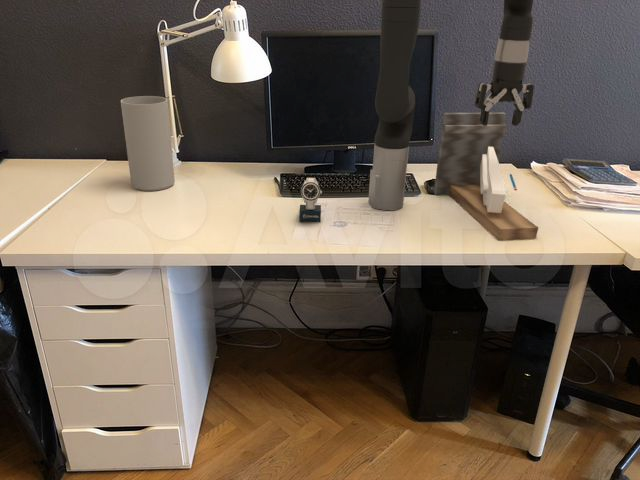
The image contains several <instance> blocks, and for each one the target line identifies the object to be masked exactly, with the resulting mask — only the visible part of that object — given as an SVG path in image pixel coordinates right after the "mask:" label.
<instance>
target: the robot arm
mask: <svg viewBox="0 0 640 480" xmlns="http://www.w3.org/2000/svg"><path fill="white" fill-rule="evenodd" d="M421 2H422V0H382V1H381V16H380V17H381V18H380V42H379V43H380V45H379V47H380V49H379V50H380V51H379V52H380V64H379V75H378V80H377V81H378V82H377V85H376V87H377V88H376V94H375V98H374V99H375V100H374V105H375V106H374V107H375V110H376V113H377V115H378V117H379V118H378V126H377V130H376V132H375V136H374V148H373V159H372V168H370V173H369V185H368V187H369V188H368V200H367V201H368V203H369V204H370V206H371V208H373V209H375V210H377V209H378V210H381V211H384V210H385V211H396V210H400V209H401V208H404V207H403V206H404V201H405V187H406V180H407V178H406V177H407V169H408V168H407V167H408V159H409V151H410V139H411V136H412V132H413V125H414V124H413V123H414V117H415V108H416V95H415V92H414V90H413V89H412V87H411V86H410V85H409V83H410V82H409V81H410V80H409V79H410V65H411V61H412V56H413V53H414V50H415V47H416V41H417V37H418V32H419V27H420V26H419V25H420V16H421V5H422V3H421ZM533 3H534V0H503V16H502V17H503V18H502V22H501V26H500V32H499V39H498V43H497V46H496V50H495V51H496V52H495V54H494V62H493V63H494V64H493V67H492V68H493V69H492V76H491V82H490V84H489V83H487V84H486V83H484V82H480V83H479V84H478V86H477V91H476V95H475V101H474V107H476V108H478V109H480V113H481V115H480V123H481V125H483V126H487V124H488V118H489V112H490V110H491V108H492V107H494V106H495V105H496V104H497V103H498V102H499V103H503V102H504V103H505V102H508V103H512V105H513V107H514V108H515V109H514V110H513V113H512V120H511V125H513V126H515V127H516V126H519V124H520V123H521V121H522V116H523V112H524V110H526V109H528V110H529V109H531V108H532V104H533V103H532V102H533V96H534V91H535V90H534V88H535V86H534V84H532V83H528V82H526V83H525V84H523V81H524V79H525V74H526V68H527V62H528V57H529V52H530V39H531V35H532V29H533V23H534V22H533V21H534V19H533V15H532V11H533V10H532V9H533ZM489 91H490V94H489V95H488V96H487V97H486V95H487V94H488V92H489ZM521 92H522V93H523V94H522V99H521V97H520V93H521Z"/></svg>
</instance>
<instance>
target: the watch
mask: <svg viewBox="0 0 640 480" xmlns="http://www.w3.org/2000/svg"><path fill="white" fill-rule="evenodd" d="M318 183H319V182H318V181H317V180H316V177H306V180H304V182H303V184H302V186H301V189H300V193H301V194H300V195H301V197H302V199H303V203H304V204H299V211H298V213H299V216H298V218H299V223H321V222H322V221H321V220H322V217H321V216H322V205H321V204H317V202H318V200H319V198H320V195H321V194H323V191H322V190H321V188H320V186H319V184H318Z"/></svg>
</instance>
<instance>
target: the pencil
mask: <svg viewBox="0 0 640 480" xmlns="http://www.w3.org/2000/svg"><path fill="white" fill-rule="evenodd" d="M509 177H510V181H511V184H512V187H513V190H514V191H518V189H517V186H516V182H515V180H514V178H513V175H512V173H509Z"/></svg>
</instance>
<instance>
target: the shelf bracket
mask: <svg viewBox="0 0 640 480" xmlns="http://www.w3.org/2000/svg"><path fill="white" fill-rule="evenodd" d="M500 165H501V164H500V162H499V160H498V159H497V156H496V153H495V150H494V147H489V146H488V150H487V154H482V159H481V164H480V189H481V194H483V204H484V205H486V206H487V212H491V213H501V211H502V207H503V203H504V202H505V197H506V183H505V180H504V176H503V172H502V169H501V166H500Z"/></svg>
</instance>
